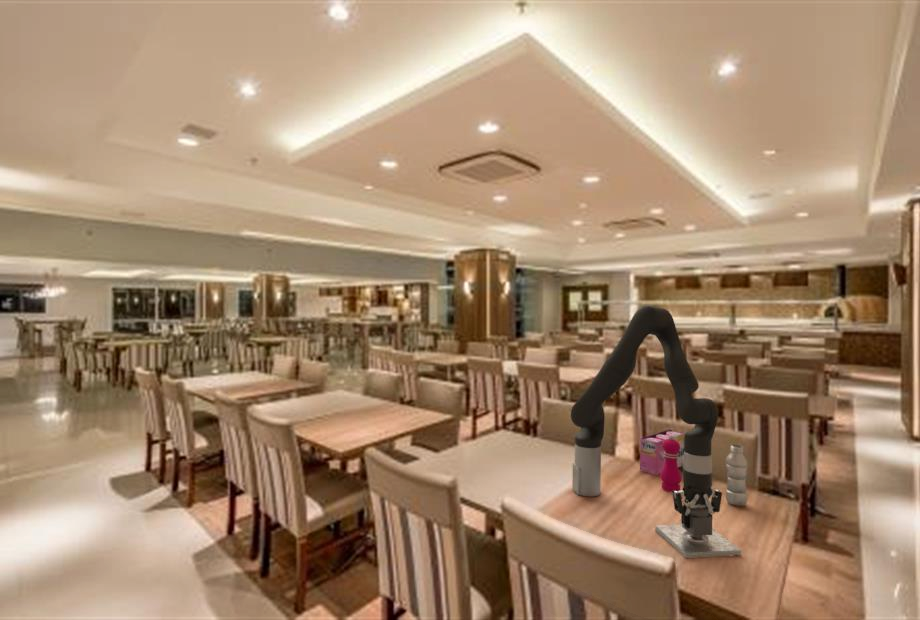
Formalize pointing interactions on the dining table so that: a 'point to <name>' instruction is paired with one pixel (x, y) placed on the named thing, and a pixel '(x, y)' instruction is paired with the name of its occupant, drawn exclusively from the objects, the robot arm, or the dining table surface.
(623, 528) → the dining table surface
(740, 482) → the plastic bottle
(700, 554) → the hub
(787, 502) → the dining table surface
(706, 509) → the knob
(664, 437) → the gum box
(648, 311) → the robot arm
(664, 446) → the pepper mill
